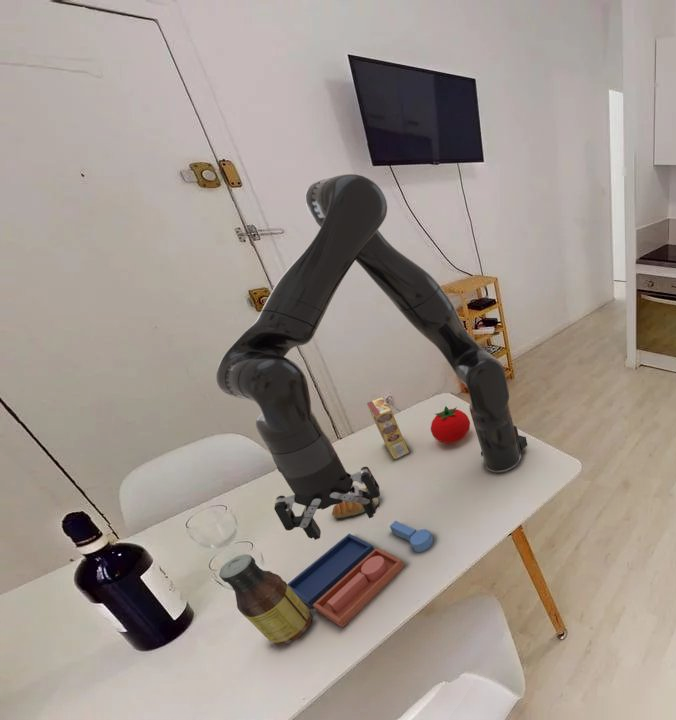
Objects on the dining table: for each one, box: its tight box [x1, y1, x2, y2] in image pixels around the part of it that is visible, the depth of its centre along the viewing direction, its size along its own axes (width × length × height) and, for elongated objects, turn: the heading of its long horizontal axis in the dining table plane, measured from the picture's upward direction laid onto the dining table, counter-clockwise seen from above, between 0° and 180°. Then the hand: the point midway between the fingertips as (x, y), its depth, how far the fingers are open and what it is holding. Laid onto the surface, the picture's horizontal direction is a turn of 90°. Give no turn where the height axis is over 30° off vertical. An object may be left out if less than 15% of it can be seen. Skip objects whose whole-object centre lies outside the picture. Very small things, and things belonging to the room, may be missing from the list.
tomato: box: [430, 405, 471, 444], centre depth 118 cm, size 10×10×10 cm
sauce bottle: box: [218, 553, 313, 646], centre depth 70 cm, size 6×6×20 cm
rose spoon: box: [327, 556, 387, 613], centre depth 80 cm, size 11×4×3 cm, turn 156°
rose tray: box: [313, 547, 405, 629], centre depth 81 cm, size 13×8×2 cm, turn 156°
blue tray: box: [287, 533, 375, 609], centre depth 84 cm, size 13×8×2 cm, turn 156°
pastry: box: [331, 486, 379, 519], centre depth 98 cm, size 9×7×4 cm
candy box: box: [366, 397, 410, 460], centre depth 113 cm, size 9×4×15 cm, turn 44°
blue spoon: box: [389, 520, 434, 553], centre depth 90 cm, size 11×4×3 cm, turn 66°
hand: (345, 524), depth 76 cm, fingers open, 8 cm apart
